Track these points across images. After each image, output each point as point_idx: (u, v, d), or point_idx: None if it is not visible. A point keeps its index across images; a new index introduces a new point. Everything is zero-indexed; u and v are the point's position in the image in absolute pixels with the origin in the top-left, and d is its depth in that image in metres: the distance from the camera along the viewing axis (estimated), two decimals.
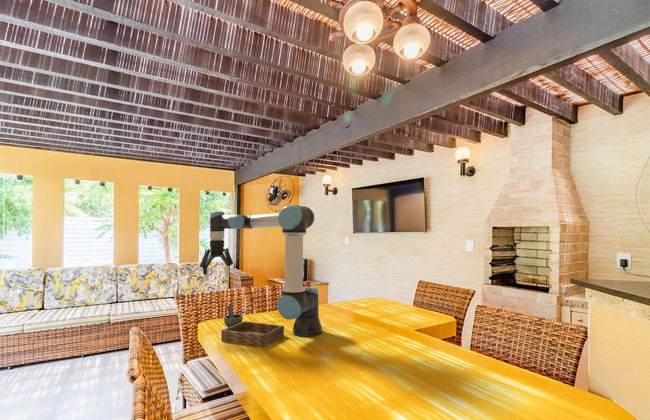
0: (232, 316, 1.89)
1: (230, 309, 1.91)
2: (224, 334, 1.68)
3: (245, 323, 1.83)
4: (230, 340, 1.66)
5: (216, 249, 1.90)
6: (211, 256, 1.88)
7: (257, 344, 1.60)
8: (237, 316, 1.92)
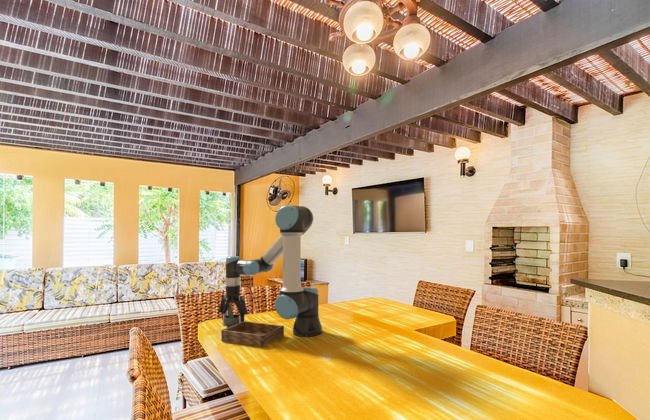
0: (232, 316, 1.89)
1: (230, 309, 1.91)
2: (224, 334, 1.68)
3: (245, 323, 1.83)
4: (230, 340, 1.66)
5: (229, 294, 1.89)
6: None
7: (257, 344, 1.60)
8: (236, 316, 1.92)
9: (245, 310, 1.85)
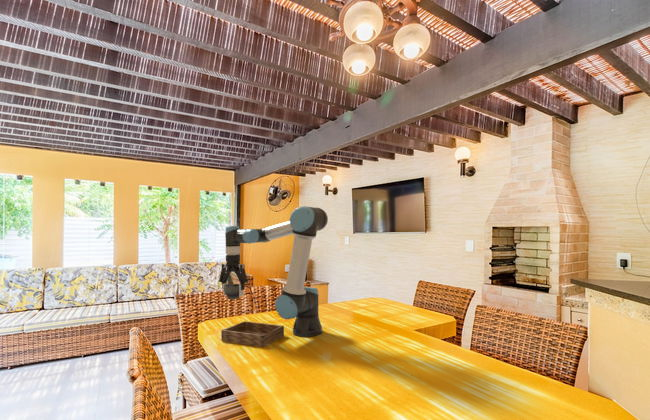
0: (232, 285, 1.90)
1: (230, 278, 1.92)
2: (224, 334, 1.68)
3: (245, 323, 1.83)
4: (230, 340, 1.66)
5: (229, 263, 1.90)
6: None
7: (257, 344, 1.60)
8: (237, 286, 1.93)
9: (245, 278, 1.86)
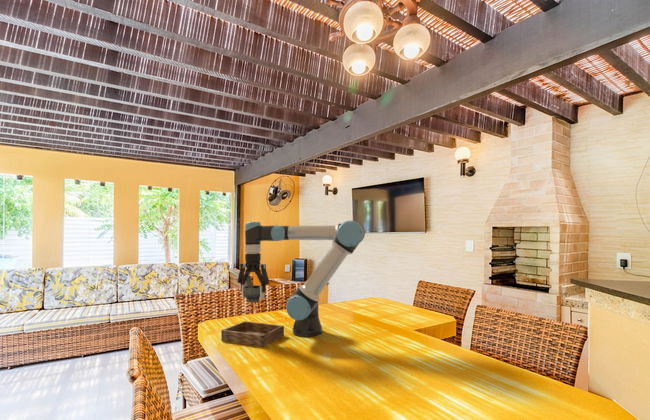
0: (251, 287, 1.74)
1: (249, 279, 1.75)
2: (224, 334, 1.68)
3: (245, 323, 1.83)
4: (230, 340, 1.66)
5: (249, 263, 1.73)
6: None
7: (257, 344, 1.60)
8: (257, 287, 1.77)
9: (267, 280, 1.70)
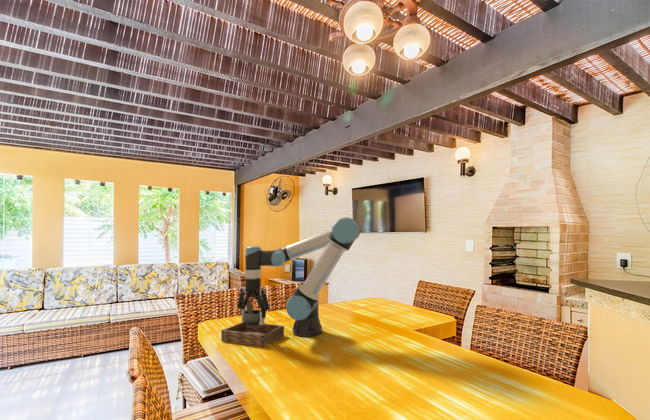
0: (251, 312, 1.73)
1: (249, 304, 1.75)
2: (224, 334, 1.68)
3: (245, 323, 1.83)
4: (230, 340, 1.66)
5: (249, 288, 1.73)
6: (246, 296, 1.74)
7: (257, 344, 1.60)
8: (256, 312, 1.76)
9: (267, 305, 1.69)
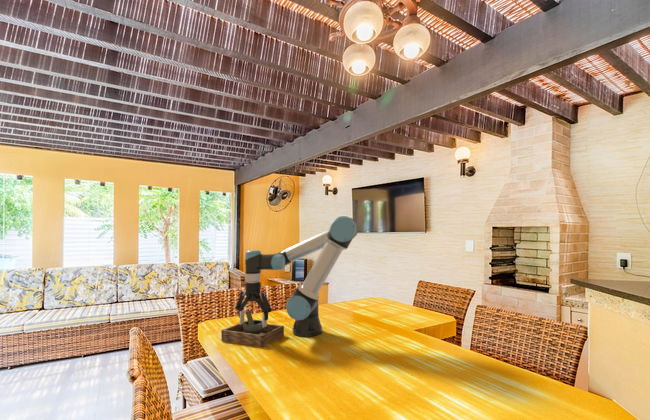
0: (252, 322, 1.73)
1: (249, 314, 1.75)
2: (224, 334, 1.68)
3: None
4: (230, 340, 1.66)
5: (249, 292, 1.73)
6: None
7: (257, 344, 1.60)
8: (257, 322, 1.76)
9: (269, 307, 1.69)
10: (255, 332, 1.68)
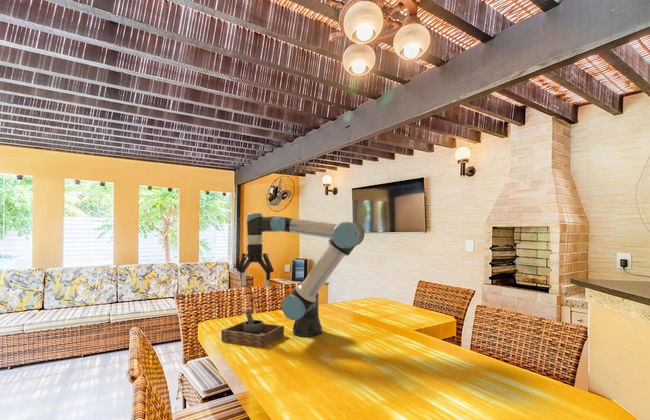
0: (252, 322, 1.73)
1: (249, 314, 1.75)
2: (224, 334, 1.68)
3: None
4: (230, 340, 1.66)
5: (251, 254, 1.77)
6: None
7: (257, 344, 1.60)
8: (257, 322, 1.76)
9: (271, 267, 1.73)
10: (255, 332, 1.68)
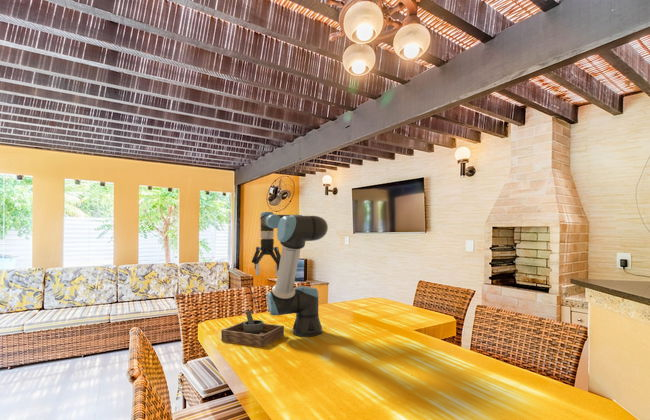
0: (252, 322, 1.73)
1: (249, 314, 1.75)
2: (224, 334, 1.68)
3: None
4: (230, 340, 1.66)
5: (264, 247, 2.02)
6: None
7: (257, 344, 1.60)
8: (257, 322, 1.76)
9: None
10: (255, 332, 1.68)
